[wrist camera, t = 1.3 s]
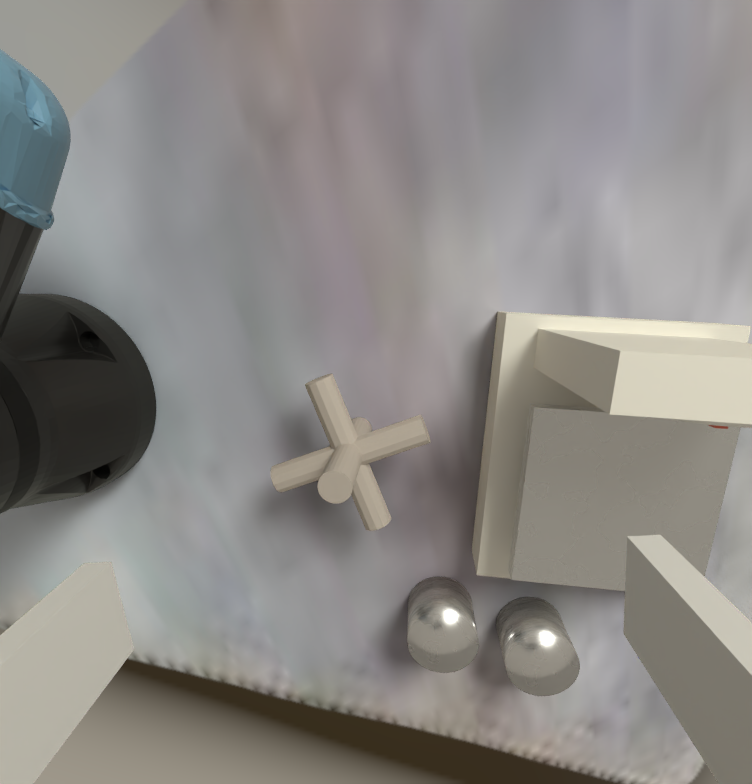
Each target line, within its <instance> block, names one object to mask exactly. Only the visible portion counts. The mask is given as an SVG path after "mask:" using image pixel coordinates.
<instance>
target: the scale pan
mask: <svg viewBox="0 0 752 784" xmlns="http://www.w3.org/2000/svg"><path fill="white" fill-rule="evenodd" d="M740 428H741V427H728V429H721V428H713V427H711V426H709V425H707V424H698V423H691V422H684V421H678V420H672V419H667V418H654V417H640V416H626V415H611V414H608V413H607V412H605V411H603V410H602V409H600V408H595V407H580V406H565V405H551V404H536V403H530V407H529V414H528V422H527V430H526V437H525V445H524V453H523V460H522V468H521V476H520V483H519V491H518V498H517V506H516V514H515V521H514V529H513V537H512V544H511V552H510V560H509V567H508V571H509V574H510V577H511V580H517V581H527V582H537V583H547V584H557V585H568V586H578V587H588V588H598V589H608V590H618V591H625V581H626V554H627V536H645V535H661V536H662V537H663V538H664V539H665V540H667V541H668V542H669V543H670V544H671V545H672V546H673V547H674V548H675V549H676V550H677V551H678V552H679V553H680V554H681V555H682V556H683V557H684V558H685V559H686V560H687V561H688V562H689V563H690V564H691V565H692V566H694V567H695V568H696V569H697V570H698V571H699V572H700V573H701V574H702V575H703V576H705V572H706V568H707V564H708V560H709V556H710V551H711V547H712V543H713V539H714V535H715V531H716V527H717V523H718V518H719V514H720V510H721V506H722V502H723V498H724V494H725V490H726V485H727V481H728V477H729V473H730V469H731V465H732V461H733V457H734V453H735V448H736V444H737V440H738V436H739V432H740Z"/></svg>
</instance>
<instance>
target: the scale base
mask: <svg viewBox="0 0 752 784" xmlns="http://www.w3.org/2000/svg"><path fill="white" fill-rule="evenodd" d="M750 329H751V326H741V325H730V324H720V323H703V322H684V321H665V320H647V319H628V318H609V317H590V316H572V315H553V314H534V313H515V312H498V313H497V322H496V331H495V341H494V350H493V359H492V368H491V377H490V386H489V396H488V405H487V414H486V423H485V432H484V441H483V451H482V460H481V469H480V478H479V487H478V496H477V506H476V515H475V524H474V533H473V542H472V555H473V560H474V564H475V569H476V574H477V575H480V576H490V577H500V578H510V579H511V577H510V574H509V571H508V567H509V560H510V552H511V544H512V537H513V529H514V521H515V514H516V506H517V498H518V491H519V483H520V476H521V468H522V460H523V453H524V445H525V437H526V430H527V422H528V414H529V407H530V403H536V404H551V405H565V406H580V407H595V408H600V409H602V410H603V411H605V412H607V413H608V414H611V415H626V416H640V417H654V418H667V419H672V420H678V421H684V422H691V423H698V424H707V425H709V426H711V427H713V428H721V429H728V427H751V428H752V344H749V343H747V342H748V338H749V333H750Z"/></svg>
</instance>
